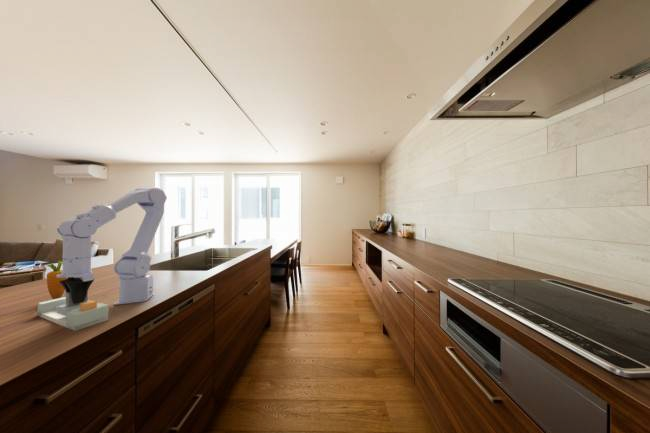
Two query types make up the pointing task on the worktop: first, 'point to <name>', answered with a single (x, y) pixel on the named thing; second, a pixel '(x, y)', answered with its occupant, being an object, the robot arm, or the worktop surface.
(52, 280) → the carrot
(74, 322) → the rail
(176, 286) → the worktop surface
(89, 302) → the orange small block
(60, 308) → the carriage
